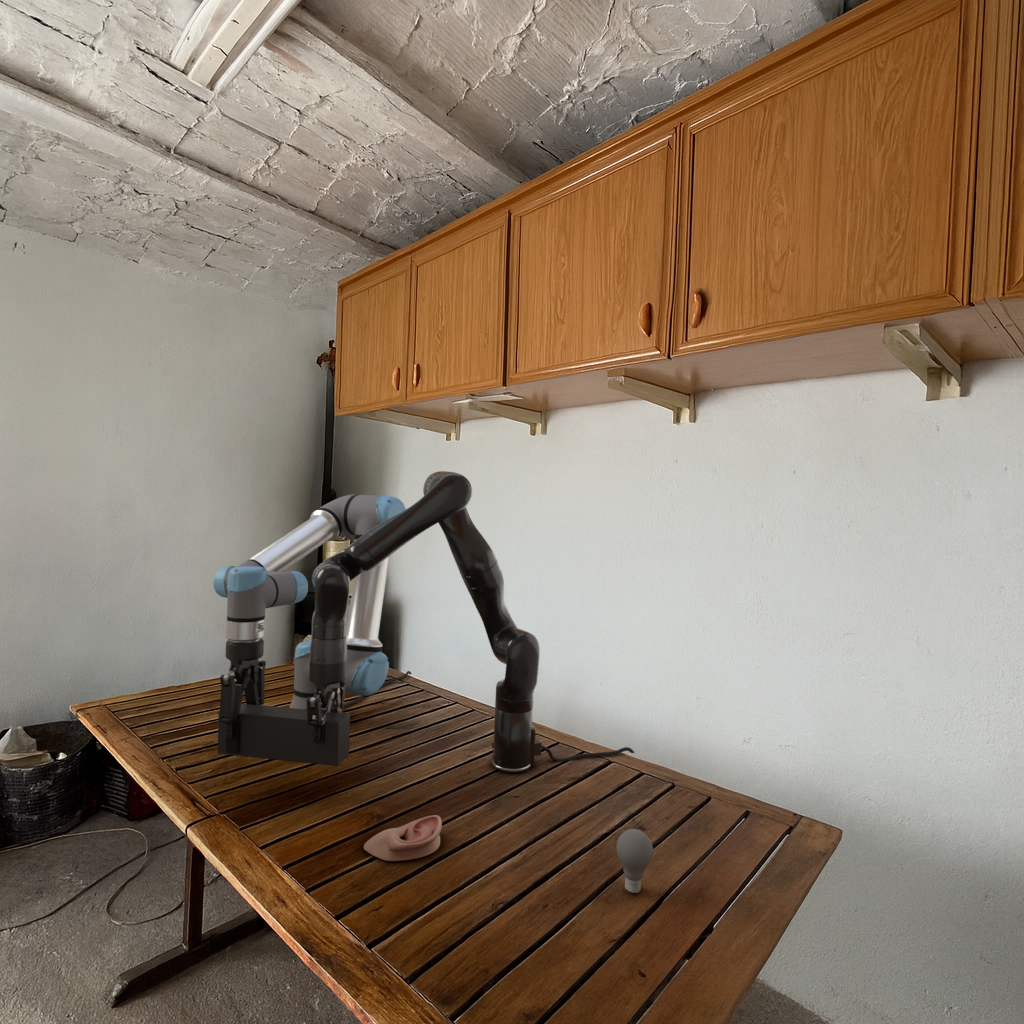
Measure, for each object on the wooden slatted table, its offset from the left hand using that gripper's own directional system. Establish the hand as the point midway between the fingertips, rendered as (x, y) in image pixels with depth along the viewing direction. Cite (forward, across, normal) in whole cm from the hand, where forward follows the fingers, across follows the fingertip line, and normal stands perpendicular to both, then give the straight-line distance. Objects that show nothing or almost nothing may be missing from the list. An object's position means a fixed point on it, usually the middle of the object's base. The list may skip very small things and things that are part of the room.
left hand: (241, 746), depth 136 cm
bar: (+1, 0, -10) cm, 10 cm away
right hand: (-4, 0, -19) cm, 19 cm away
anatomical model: (+9, -14, -41) cm, 44 cm away
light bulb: (+9, -18, -82) cm, 85 cm away
